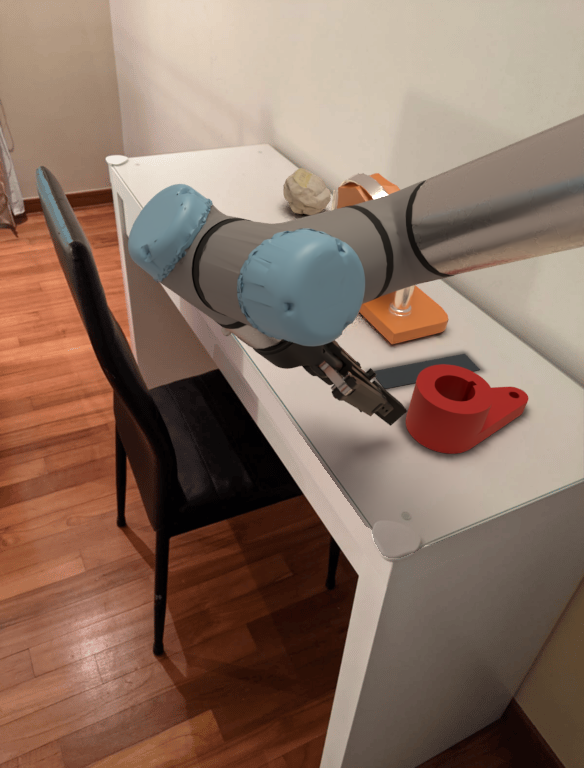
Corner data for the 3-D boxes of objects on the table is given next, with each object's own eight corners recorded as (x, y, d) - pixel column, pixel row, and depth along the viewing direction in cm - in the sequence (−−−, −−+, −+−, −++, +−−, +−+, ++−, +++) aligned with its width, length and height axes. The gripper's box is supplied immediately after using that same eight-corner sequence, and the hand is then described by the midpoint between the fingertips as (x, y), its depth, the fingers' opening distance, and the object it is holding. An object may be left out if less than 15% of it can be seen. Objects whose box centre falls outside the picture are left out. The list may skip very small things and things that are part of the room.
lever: (433, 461, 74) (446, 421, 70) (391, 412, 80) (401, 373, 76) (543, 426, 81) (562, 388, 77) (497, 383, 87) (512, 346, 83)
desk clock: (388, 347, 92) (417, 222, 79) (297, 256, 112) (308, 144, 99) (452, 332, 97) (489, 211, 84) (354, 247, 117) (372, 139, 104)
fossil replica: (322, 199, 133) (278, 203, 132) (323, 160, 128) (276, 164, 127) (337, 219, 124) (289, 223, 122) (338, 178, 119) (288, 182, 117)
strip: (480, 369, 89) (480, 369, 89) (384, 389, 84) (384, 388, 84) (464, 354, 92) (464, 353, 92) (371, 371, 87) (371, 371, 87)
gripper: (227, 308, 63) (349, 400, 79) (271, 386, 54) (399, 473, 70) (279, 256, 61) (393, 361, 77) (333, 327, 52) (449, 430, 68)
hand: (395, 414), depth 73 cm, fingers closed
